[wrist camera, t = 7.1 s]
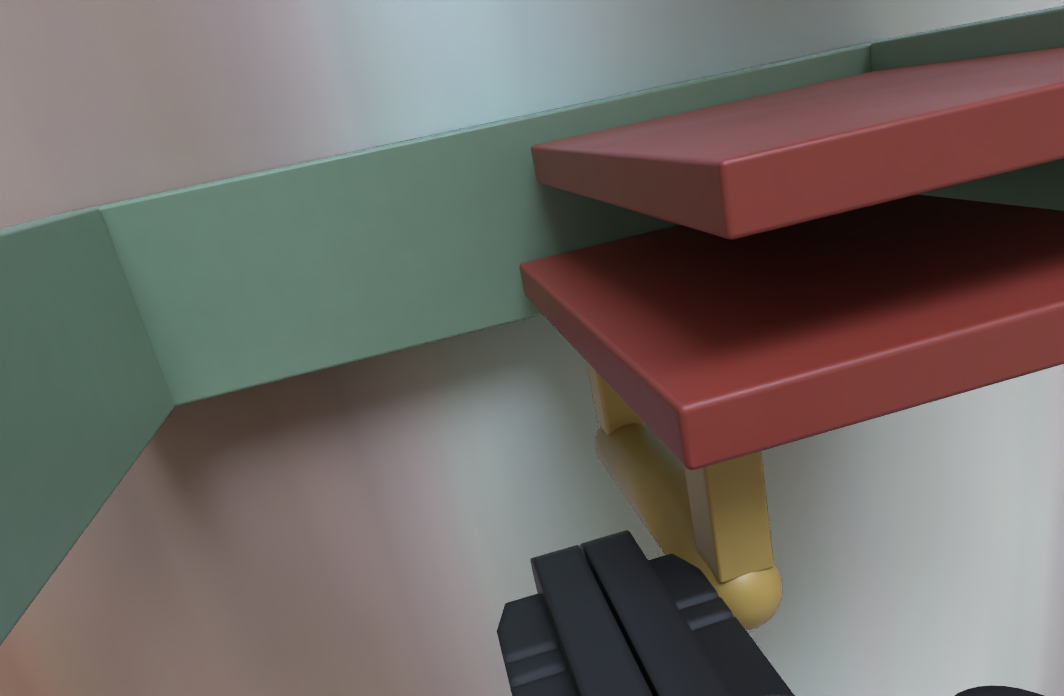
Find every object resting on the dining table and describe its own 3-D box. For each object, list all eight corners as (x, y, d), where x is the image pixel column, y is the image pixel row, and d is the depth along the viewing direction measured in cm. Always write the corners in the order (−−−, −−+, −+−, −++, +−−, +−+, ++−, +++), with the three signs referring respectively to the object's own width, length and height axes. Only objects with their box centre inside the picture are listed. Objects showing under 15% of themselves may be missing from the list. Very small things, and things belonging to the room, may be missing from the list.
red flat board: (854, 350, 19) (1265, 536, 10) (552, 432, 18) (723, 718, 9) (843, 185, 17) (1306, 235, 9) (517, 262, 16) (678, 408, 8)
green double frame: (893, 211, 20) (1454, 296, 10) (127, 401, 17) (-246, 803, 7) (885, 39, 19) (1531, -82, 8) (51, 215, 16) (-556, 369, 6)
